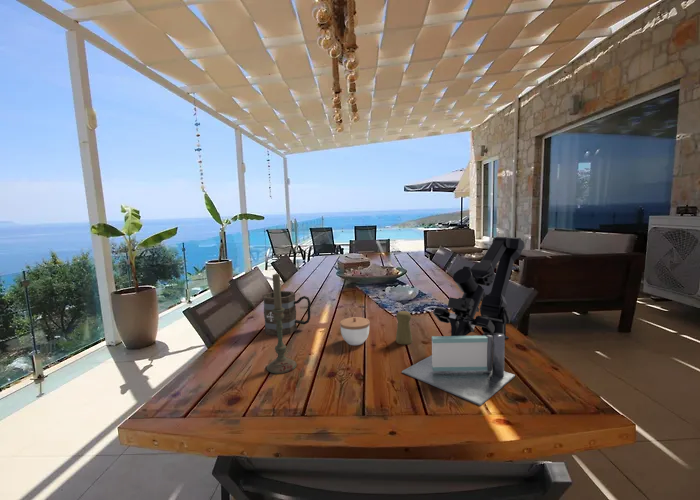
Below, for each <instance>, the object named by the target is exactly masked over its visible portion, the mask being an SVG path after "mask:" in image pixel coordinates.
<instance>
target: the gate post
mask: <svg viewBox="0 0 700 500" xmlns="http://www.w3.org/2000/svg"><path fill="white" fill-rule="evenodd" d="M505 342H506V339H505V335H504V334H501V333H493V341H492V371H487V370H482V371H433V369H432V354H431V355H429V356H427V357H426V358H424V359H422V360H420V361H418V362H416V363H413V364H412V365H411V366H409V367H407V368H404V369H403V370H402V371H401V373H402V374H404V375H406V376H409V377H411V378H413V379H416V380H418V381H421V382H423V383H426V384H428V385H431V386H433V387H435V388H437V389H440V390H442V391H444V392H446V393H449V394H452V395H454V396H456V397H458V398H461V399H463V400H465V401H468V402H470V403H473V404H475V405H478V406H482V405H483V404H485V402H487V401H488V400H489V399H490V398H492V397H493V396H494V395H495V394H497V392H499V391H500V390H501V389H502V388H504V387H505V386H506V385H507V384H509V382H511V380H513V379H514V378H516V374H514V373H511V372H507V371H505Z"/></svg>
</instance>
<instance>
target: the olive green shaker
mask: <svg viewBox="0 0 700 500" xmlns="http://www.w3.org/2000/svg"><path fill="white" fill-rule="evenodd" d="M411 319H412V315H411V313H410V312H409V311H407V310H402V311H401V310H400V311H398V312H397V313H396V320H397V327H396V333H395V334H396V336H395V343H397V344H398V345H409V344H410V345H411V344H412V343H413V336H412V331H411V323H410V321H411Z"/></svg>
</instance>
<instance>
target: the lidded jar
mask: <svg viewBox="0 0 700 500" xmlns="http://www.w3.org/2000/svg"><path fill="white" fill-rule="evenodd" d="M339 326H340V333H341V336H342V338H343V340H344V341H345V342H346V343H347V345H349V346H361V345H363V344H364V343H365V341H366V340H367V338H368V337H369V333H370V320H369V319H368V318H365V317H357V316H353V317H352V316H351V317H348V318H346V317H345V318H343V319H342V320H341V321H340V322H339Z"/></svg>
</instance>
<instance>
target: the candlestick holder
mask: <svg viewBox="0 0 700 500" xmlns="http://www.w3.org/2000/svg"><path fill="white" fill-rule="evenodd" d="M281 289H282V288H281V275H280V273H277V272H275V273H274V274H272V290H273V291H272V292H274V309H272V312H273V313H274V315H273V318H274V319H275V320H277V323H276V330H277V336H276V337H277V338H276V339H277V345H275V348H274V350H275V352H276V354H277V358H274V359H273V360H272V361H270V362H269V363H268V364H267V366H266V370H267V372H269V373H271V374H278V375H280V374H285V373H290V372H291V371H293V370H295V369H296V367H297V366H298V365H297V361H296V360H294V359H291V358H290V357H286V355H285V353H286V351H287V345H286V344H284V342H283V337H284V335H282V329H283V326H282V321H281V320H282V319H283V318H284V314H283V312H284V310H285V309H284V308H282V303H281V291H282V290H281Z"/></svg>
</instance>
